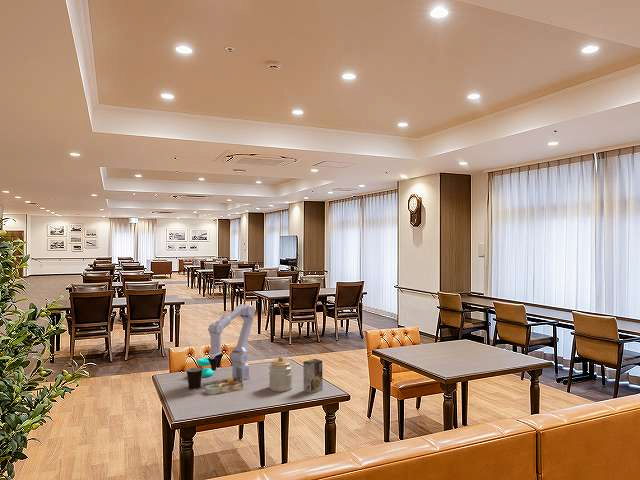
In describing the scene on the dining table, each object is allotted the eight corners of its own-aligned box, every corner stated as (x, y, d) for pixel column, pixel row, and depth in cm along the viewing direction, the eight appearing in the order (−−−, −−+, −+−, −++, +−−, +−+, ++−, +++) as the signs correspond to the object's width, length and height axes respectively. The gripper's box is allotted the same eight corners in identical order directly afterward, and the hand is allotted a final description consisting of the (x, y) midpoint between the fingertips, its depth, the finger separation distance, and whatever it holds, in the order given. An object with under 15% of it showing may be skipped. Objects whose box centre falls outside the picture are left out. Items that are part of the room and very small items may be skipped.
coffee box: (314, 387, 258) (314, 358, 258) (322, 389, 254) (322, 360, 254) (302, 390, 252) (302, 361, 252) (311, 393, 247) (310, 363, 247)
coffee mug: (198, 390, 253) (198, 372, 253) (183, 389, 254) (183, 371, 254) (207, 383, 264) (207, 366, 264) (193, 382, 266) (193, 365, 266)
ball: (232, 382, 258) (232, 375, 258) (234, 383, 255) (234, 377, 255) (226, 383, 256) (226, 376, 256) (228, 384, 253) (228, 378, 253)
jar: (276, 383, 265) (276, 352, 265) (296, 386, 259) (296, 355, 259) (264, 390, 253) (264, 358, 253) (284, 393, 247) (284, 360, 247)
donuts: (193, 359, 279) (205, 356, 288) (193, 376, 279) (205, 372, 288) (204, 362, 274) (216, 358, 283) (204, 378, 274) (216, 374, 283)
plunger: (238, 379, 261) (238, 367, 261) (242, 382, 256) (242, 369, 256) (233, 380, 259) (233, 367, 259) (237, 383, 255) (237, 370, 255)
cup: (216, 389, 254) (216, 383, 254) (221, 392, 248) (221, 387, 248) (204, 391, 250) (204, 386, 250) (209, 395, 245) (209, 389, 245)
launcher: (236, 384, 262) (236, 377, 262) (243, 389, 255) (243, 381, 255) (215, 388, 255) (215, 381, 255) (221, 393, 247) (221, 385, 248)
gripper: (212, 341, 267) (212, 364, 267) (204, 347, 253) (204, 372, 253) (224, 341, 266) (224, 365, 267) (217, 347, 252) (217, 372, 252)
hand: (215, 368), depth 259 cm, fingers open, 7 cm apart
